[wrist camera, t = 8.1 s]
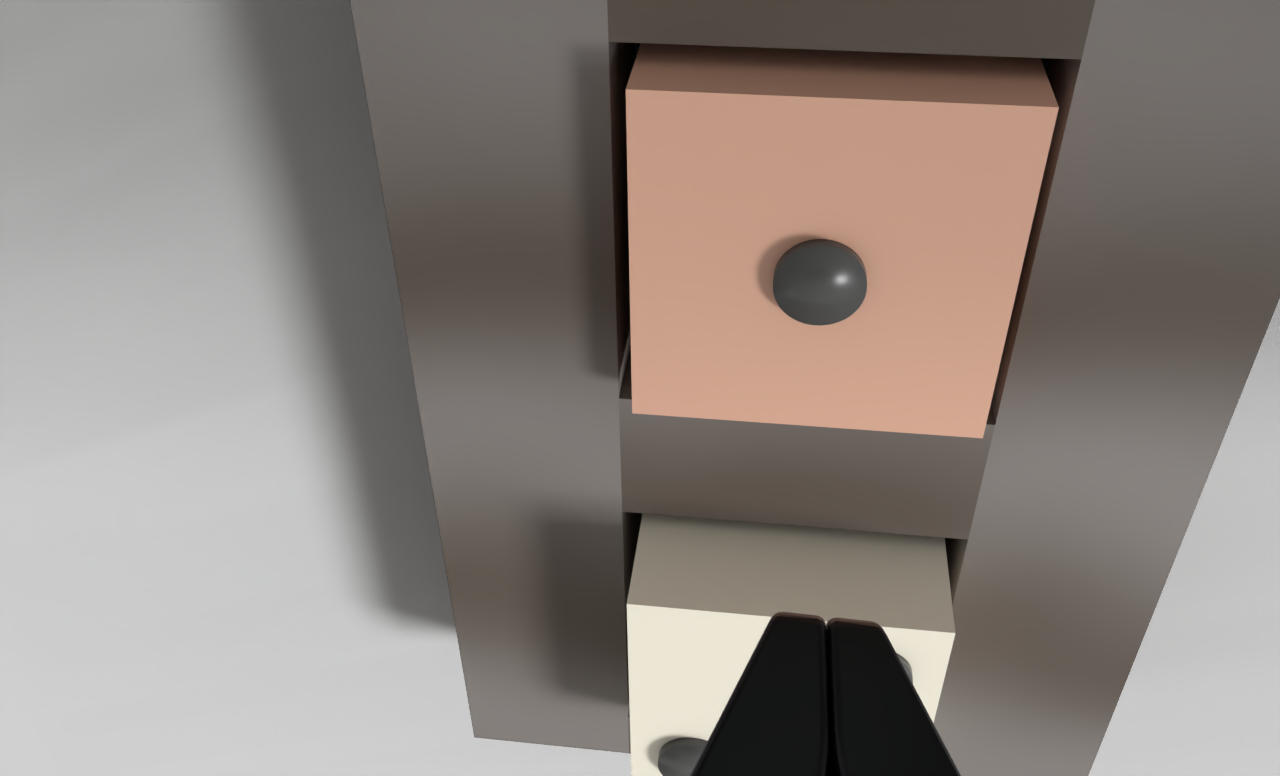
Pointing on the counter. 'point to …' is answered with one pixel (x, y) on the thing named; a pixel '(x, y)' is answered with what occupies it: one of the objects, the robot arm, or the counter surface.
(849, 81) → the tile one
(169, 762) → the counter surface
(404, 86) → the tile board
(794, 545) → the tile three
